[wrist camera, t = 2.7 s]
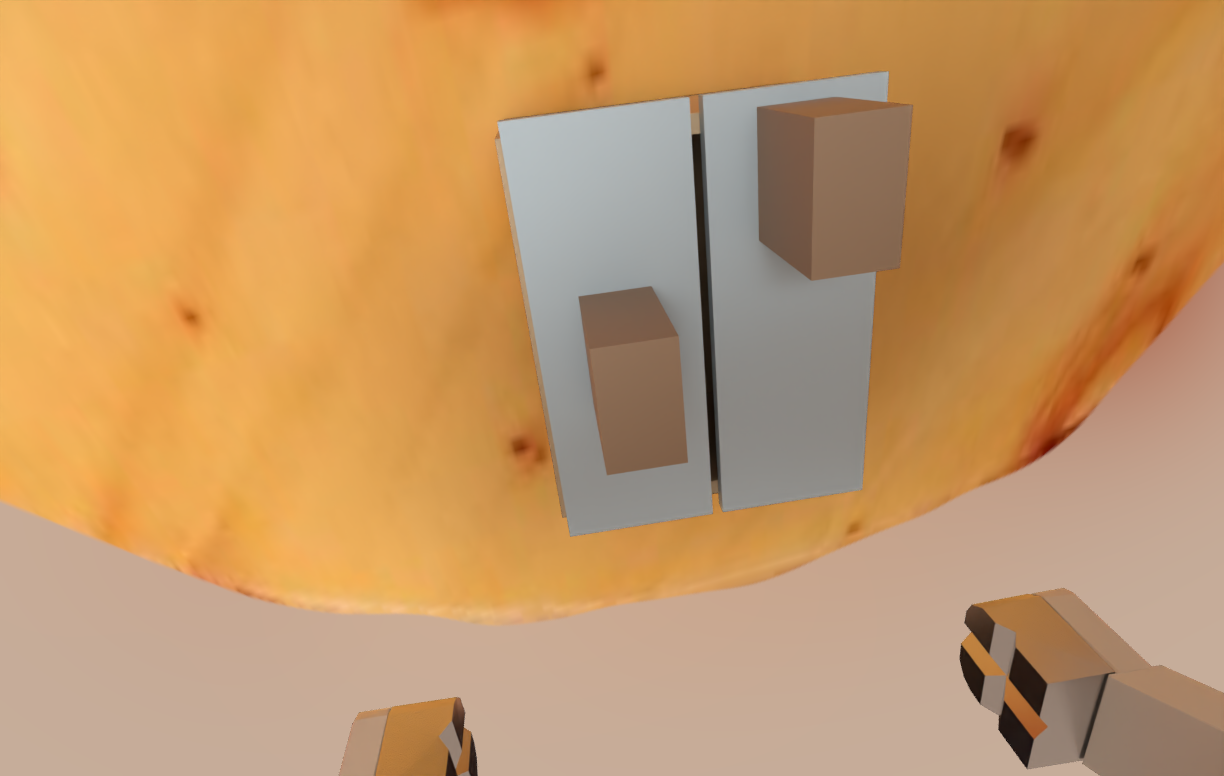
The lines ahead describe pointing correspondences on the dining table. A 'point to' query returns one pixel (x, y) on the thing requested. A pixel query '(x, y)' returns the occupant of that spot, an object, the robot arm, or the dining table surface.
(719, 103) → the lid
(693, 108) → the open cardboard box
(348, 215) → the dining table surface
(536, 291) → the lid
